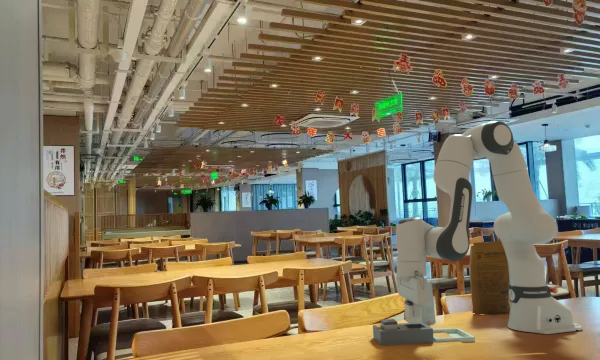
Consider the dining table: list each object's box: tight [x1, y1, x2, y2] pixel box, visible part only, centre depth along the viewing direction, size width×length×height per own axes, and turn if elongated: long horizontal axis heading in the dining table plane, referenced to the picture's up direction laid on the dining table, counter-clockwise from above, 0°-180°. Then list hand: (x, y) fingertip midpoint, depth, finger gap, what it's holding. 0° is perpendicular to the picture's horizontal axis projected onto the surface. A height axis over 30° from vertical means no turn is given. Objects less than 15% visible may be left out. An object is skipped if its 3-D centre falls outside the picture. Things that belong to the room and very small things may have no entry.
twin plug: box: [380, 318, 398, 330], centre depth 144 cm, size 4×4×6 cm
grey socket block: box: [372, 322, 435, 347], centre depth 144 cm, size 16×9×6 cm, turn 95°
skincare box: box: [422, 280, 437, 325], centre depth 172 cm, size 8×6×15 cm
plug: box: [403, 300, 422, 323], centre depth 145 cm, size 4×4×6 cm
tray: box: [433, 327, 476, 343], centre depth 148 cm, size 12×12×2 cm
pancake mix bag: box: [468, 240, 510, 315], centre depth 184 cm, size 7×19×28 cm, turn 99°
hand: (413, 315), depth 145 cm, fingers closed on plug, 4 cm apart
